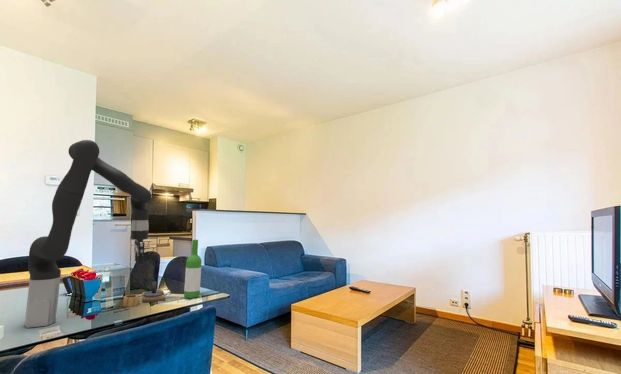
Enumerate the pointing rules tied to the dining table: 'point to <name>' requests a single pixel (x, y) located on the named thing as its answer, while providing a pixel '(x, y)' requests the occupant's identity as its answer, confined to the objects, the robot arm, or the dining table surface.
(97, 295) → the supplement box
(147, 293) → the bobbin stand
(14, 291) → the dining table surface
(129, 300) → the brown ribbed pot
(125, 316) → the dining table surface
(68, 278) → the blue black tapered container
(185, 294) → the wine bottle
